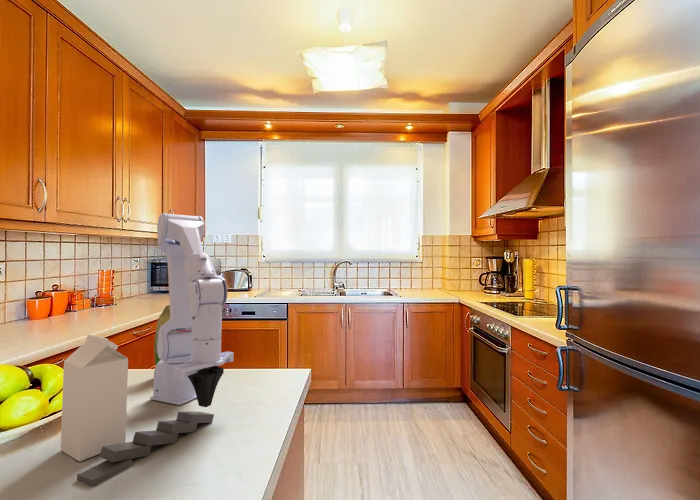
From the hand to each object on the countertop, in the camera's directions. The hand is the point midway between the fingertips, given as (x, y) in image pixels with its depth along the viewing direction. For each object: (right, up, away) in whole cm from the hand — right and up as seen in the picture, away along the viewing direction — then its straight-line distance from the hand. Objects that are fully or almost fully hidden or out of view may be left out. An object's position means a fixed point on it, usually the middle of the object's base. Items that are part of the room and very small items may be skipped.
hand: (204, 405), depth 75 cm
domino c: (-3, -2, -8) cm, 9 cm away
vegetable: (-22, -4, +28) cm, 36 cm away
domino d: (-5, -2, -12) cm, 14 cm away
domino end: (-7, -2, -16) cm, 17 cm away
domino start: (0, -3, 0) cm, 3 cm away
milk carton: (-15, -3, -11) cm, 19 cm away
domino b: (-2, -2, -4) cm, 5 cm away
